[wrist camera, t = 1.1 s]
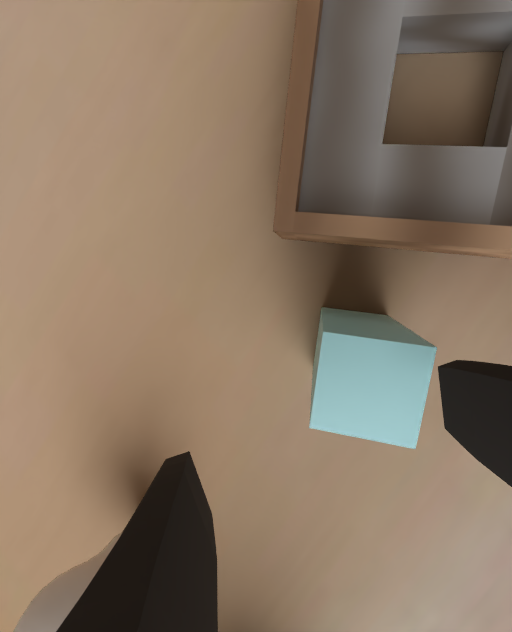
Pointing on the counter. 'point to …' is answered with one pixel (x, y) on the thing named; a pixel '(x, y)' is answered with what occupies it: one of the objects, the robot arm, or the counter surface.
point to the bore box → (368, 130)
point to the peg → (369, 377)
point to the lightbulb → (61, 595)
